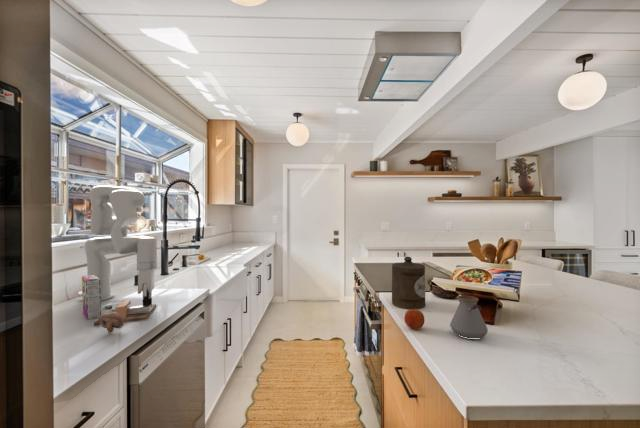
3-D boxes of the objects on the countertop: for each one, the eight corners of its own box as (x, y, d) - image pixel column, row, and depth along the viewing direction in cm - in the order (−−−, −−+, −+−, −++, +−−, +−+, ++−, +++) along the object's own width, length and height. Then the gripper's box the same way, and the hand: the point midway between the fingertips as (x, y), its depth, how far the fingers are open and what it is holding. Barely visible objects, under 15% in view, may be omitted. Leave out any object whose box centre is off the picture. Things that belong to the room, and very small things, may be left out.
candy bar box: (81, 314, 126) (81, 276, 126) (96, 311, 130) (95, 274, 130) (86, 320, 119) (85, 280, 119) (101, 316, 123) (101, 278, 123)
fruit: (424, 333, 101) (424, 310, 101) (403, 331, 104) (403, 308, 104) (424, 326, 108) (424, 304, 108) (405, 324, 110) (405, 303, 110)
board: (94, 325, 113) (94, 322, 113) (110, 311, 130) (110, 308, 130) (146, 319, 118) (146, 316, 118) (156, 306, 135) (156, 304, 135)
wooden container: (425, 310, 125) (425, 259, 125) (390, 307, 129) (389, 258, 129) (425, 301, 139) (424, 255, 139) (393, 298, 143) (392, 254, 144)
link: (99, 318, 116) (99, 308, 116) (104, 314, 121) (103, 304, 121) (148, 313, 122) (148, 303, 122) (151, 309, 126) (151, 300, 126)
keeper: (116, 319, 116) (115, 307, 116) (122, 312, 124) (122, 301, 124) (124, 318, 117) (124, 306, 117) (131, 311, 125) (130, 300, 125)
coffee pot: (448, 327, 107) (448, 286, 107) (483, 330, 103) (483, 288, 103) (455, 353, 86) (454, 303, 86) (499, 359, 83) (499, 307, 83)
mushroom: (95, 335, 103) (94, 312, 103) (112, 328, 109) (111, 307, 109) (110, 338, 101) (109, 315, 101) (126, 331, 107) (126, 309, 107)
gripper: (140, 263, 132) (141, 303, 132) (132, 269, 118) (133, 314, 118) (159, 262, 135) (159, 301, 135) (153, 268, 121) (154, 311, 121)
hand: (147, 307), depth 127 cm, fingers closed
